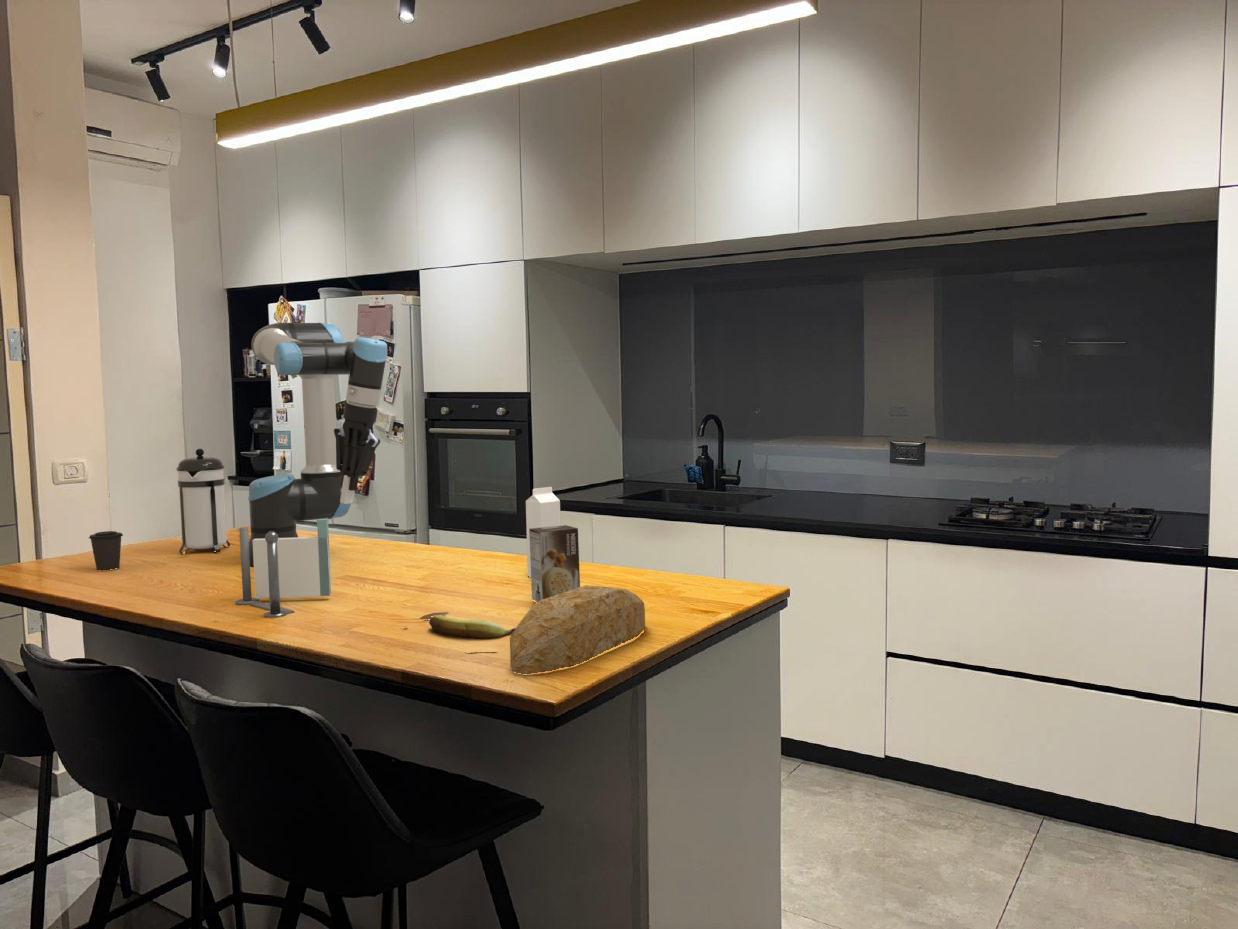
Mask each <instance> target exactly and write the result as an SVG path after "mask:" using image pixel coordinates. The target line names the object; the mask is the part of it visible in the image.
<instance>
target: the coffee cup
mask: <svg viewBox="0 0 1238 929" xmlns="http://www.w3.org/2000/svg"><path fill="white" fill-rule="evenodd" d="M123 536H124V534H123V532H120V531H119V532H118V531H115V530H112V531H111V530H108V531H106V530H105V531H100V532H99V531H98V532H95V533H94V534H90V535H89V536H88V539H90V542H91V543H90V544H91V548H92V553H93V559H94V563H95V569H96V571H97V570H110V569H115V568H119V569H120V565H121V562H120V561H121V550H122V549H121V548H122V547H121V546H122V537H123Z"/></svg>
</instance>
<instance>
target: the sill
mask: <svg viewBox="0 0 1238 929" xmlns="http://www.w3.org/2000/svg"><path fill="white" fill-rule="evenodd" d="M260 599H261V598H255V597H252V600H247V601H244V600H243V598H240V599H236V600H235V602H234V604H235V605H237V606H252V607H254V606H256V607H255V608H258V607H259V609H262V610H266V609H267V610H266V611H269V610H270V603H265V602H262V601H260ZM280 611H286V612H287V614H286V615H288V614H293V613H295V610H293V609H289V608H285V607H282V606H280Z"/></svg>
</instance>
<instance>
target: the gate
mask: <svg viewBox="0 0 1238 929" xmlns="http://www.w3.org/2000/svg"><path fill="white" fill-rule="evenodd" d="M316 525H317V530H316V531H317V536H305V537H304V536H303V537H301V536H300V537H299V536H298V537H297V538H278V541H277V551H278V572H279V593H280V599H281V598H297V597H298V598H307V597H310V598H311V597H330V596H331V595H332V582H331V581H332V579H331V578H332V577H331V576H332V575H331V556H330V553H331V552H330V536H329V535H330V534H329V532H330V531H329V519H317V520H316ZM238 530H239V548H240V551H239V552H240V567H241V569H240V570H241V585H242V586H241V588H242V599H243V600H244V601H247V600H252V598H253V597H252V576H251V566H250V555H249V540H250V537H249V527H247V526H245V527H239V528H238ZM252 541H253V560H254V566H253V576H254V577H253V579H254V598H258V599H270V598H269V578H268V558H267V542H266V540H265V538H264V539H254V540H252Z"/></svg>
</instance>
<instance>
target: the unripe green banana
mask: <svg viewBox="0 0 1238 929" xmlns="http://www.w3.org/2000/svg"><path fill="white" fill-rule="evenodd" d="M449 614H450V613H449V611H448V612H447V611H444V612H443V611H441V612H440V611H439V612H431V613H427V614H424V615H423V616H420V617H419V618H418V619H421V620H422V621H421V622H428V623H429V626H430V627H431V628H432V632H433V633H435V634H438V635H441V636H445V637H453V638H459V637H460V639H461V638H462V639H477V640H478V639H479V640H483V639H484V640H486V639H487V640H489V639H497V638H501V637H505V636H510V635H509V634H512V633H513V632H514V630H515V629H516V627H513V628H511V629H506V628H504V627H503V626H502V625H500V624H497V623H495V622H493V621H489V620H483V619H462V618H456V617H449V616H447V615H449ZM431 616H433V617H431ZM426 619H427V620H426ZM428 619H430V620H428ZM408 629H409V627H408V628H404V629H402V631H406V630H408ZM470 652H471V651H470ZM472 652H473V651H472ZM472 652H471V653H468V654H467V653H466V652H465V653H466V654H465V655H470V654H473V653H472ZM474 652H475V653H474V654H477V653H479V654H480V653H481V654H492V653H495V654H498V652H496V651H491V652H489V651H480V652H479V651H478V652H477V651H474Z"/></svg>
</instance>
